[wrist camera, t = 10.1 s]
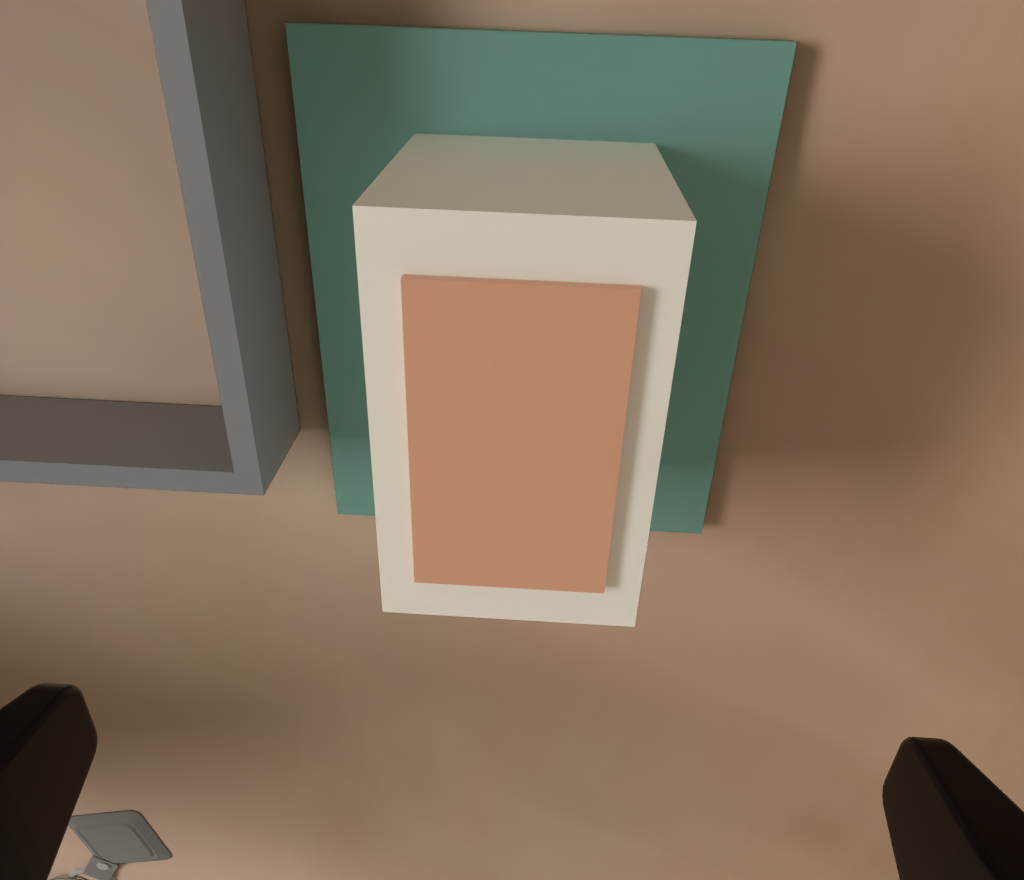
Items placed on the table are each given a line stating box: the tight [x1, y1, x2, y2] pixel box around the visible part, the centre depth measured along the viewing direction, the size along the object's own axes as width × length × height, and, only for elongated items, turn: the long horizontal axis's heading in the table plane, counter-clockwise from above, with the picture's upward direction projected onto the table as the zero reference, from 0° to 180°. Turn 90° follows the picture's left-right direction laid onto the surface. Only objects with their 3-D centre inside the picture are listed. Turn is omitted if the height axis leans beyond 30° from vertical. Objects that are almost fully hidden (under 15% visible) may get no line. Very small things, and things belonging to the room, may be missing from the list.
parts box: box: [352, 133, 697, 627], centre depth 16 cm, size 5×8×6 cm, turn 178°
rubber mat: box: [285, 22, 797, 533], centre depth 19 cm, size 10×12×1 cm
